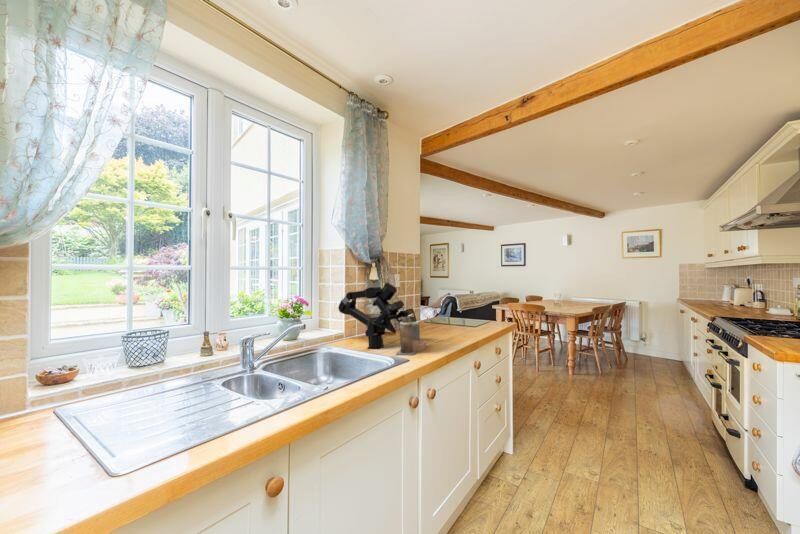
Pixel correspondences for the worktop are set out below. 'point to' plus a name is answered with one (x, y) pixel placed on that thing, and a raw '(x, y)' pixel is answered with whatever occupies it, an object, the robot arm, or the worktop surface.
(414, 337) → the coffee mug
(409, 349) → the pepper mill
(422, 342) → the holder
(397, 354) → the slate coaster
